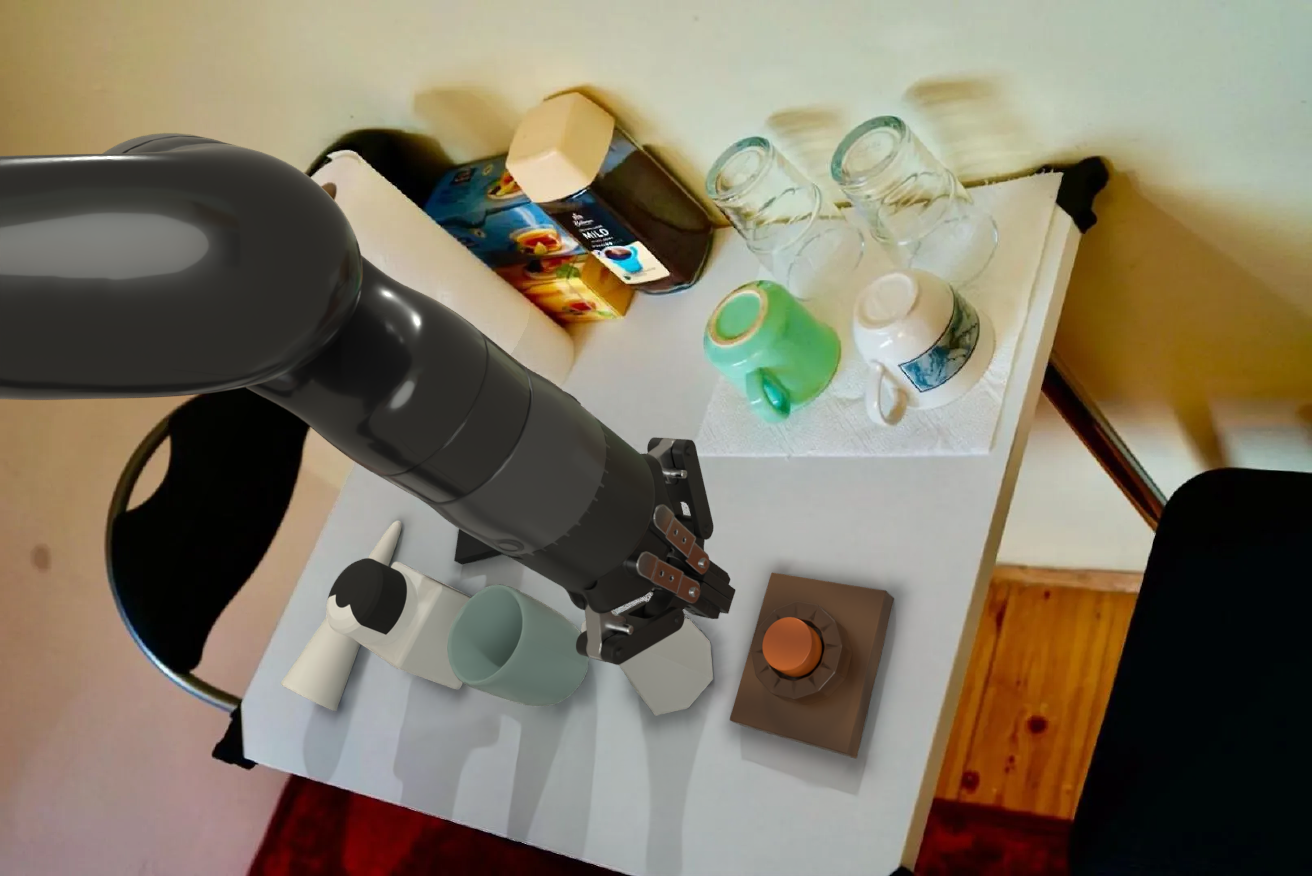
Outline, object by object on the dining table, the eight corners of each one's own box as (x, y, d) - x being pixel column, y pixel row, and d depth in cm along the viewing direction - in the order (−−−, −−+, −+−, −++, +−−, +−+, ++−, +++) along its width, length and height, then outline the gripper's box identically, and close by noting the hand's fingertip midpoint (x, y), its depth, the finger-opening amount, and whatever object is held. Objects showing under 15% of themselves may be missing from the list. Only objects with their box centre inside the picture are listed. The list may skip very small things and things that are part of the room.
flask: (696, 604, 70) (624, 560, 63) (729, 684, 66) (656, 645, 58) (624, 651, 72) (547, 613, 65) (651, 733, 67) (571, 701, 60)
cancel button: (814, 682, 59) (803, 675, 58) (767, 671, 61) (755, 664, 60) (828, 629, 60) (817, 621, 59) (781, 620, 62) (770, 612, 61)
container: (452, 587, 87) (347, 537, 77) (501, 612, 82) (395, 562, 72) (413, 661, 85) (301, 619, 76) (460, 692, 80) (346, 651, 71)
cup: (617, 674, 71) (538, 638, 64) (547, 735, 72) (462, 706, 65) (581, 604, 77) (505, 563, 70) (517, 662, 78) (435, 628, 71)
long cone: (447, 540, 93) (346, 717, 86) (415, 533, 97) (317, 700, 90) (406, 513, 89) (297, 695, 82) (375, 506, 94) (269, 678, 87)
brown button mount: (857, 759, 58) (835, 748, 56) (740, 725, 64) (716, 714, 61) (894, 598, 62) (876, 581, 59) (781, 579, 67) (759, 563, 65)
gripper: (530, 349, 45) (701, 493, 57) (423, 599, 41) (633, 696, 53) (646, 348, 40) (805, 504, 53) (539, 629, 36) (740, 728, 48)
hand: (719, 600), depth 53 cm, fingers closed
